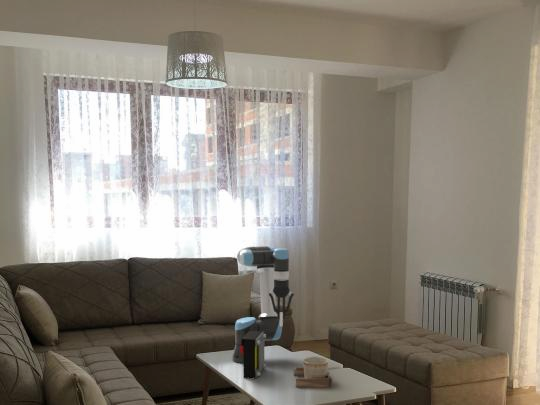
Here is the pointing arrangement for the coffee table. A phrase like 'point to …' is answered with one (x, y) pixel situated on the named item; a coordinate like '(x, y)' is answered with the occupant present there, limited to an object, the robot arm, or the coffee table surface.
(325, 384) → the walnut cradle
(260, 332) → the electrical component
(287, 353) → the coffee table surface
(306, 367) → the planter
